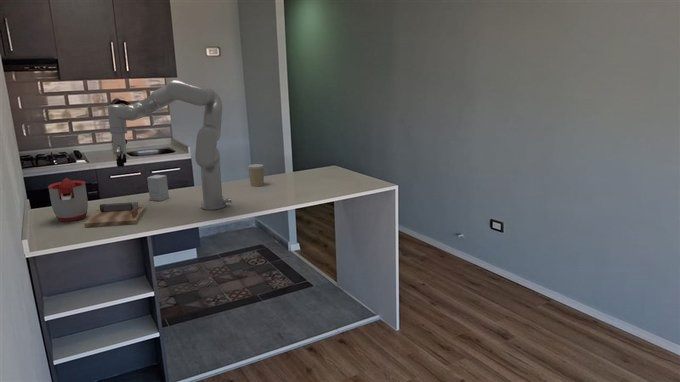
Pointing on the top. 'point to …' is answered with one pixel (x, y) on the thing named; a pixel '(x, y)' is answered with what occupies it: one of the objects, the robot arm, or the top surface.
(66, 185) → the citrus juicer
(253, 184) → the coffee cup
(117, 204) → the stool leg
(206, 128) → the robot arm
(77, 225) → the top surface
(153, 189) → the supplement box
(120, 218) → the flat wooden plank
